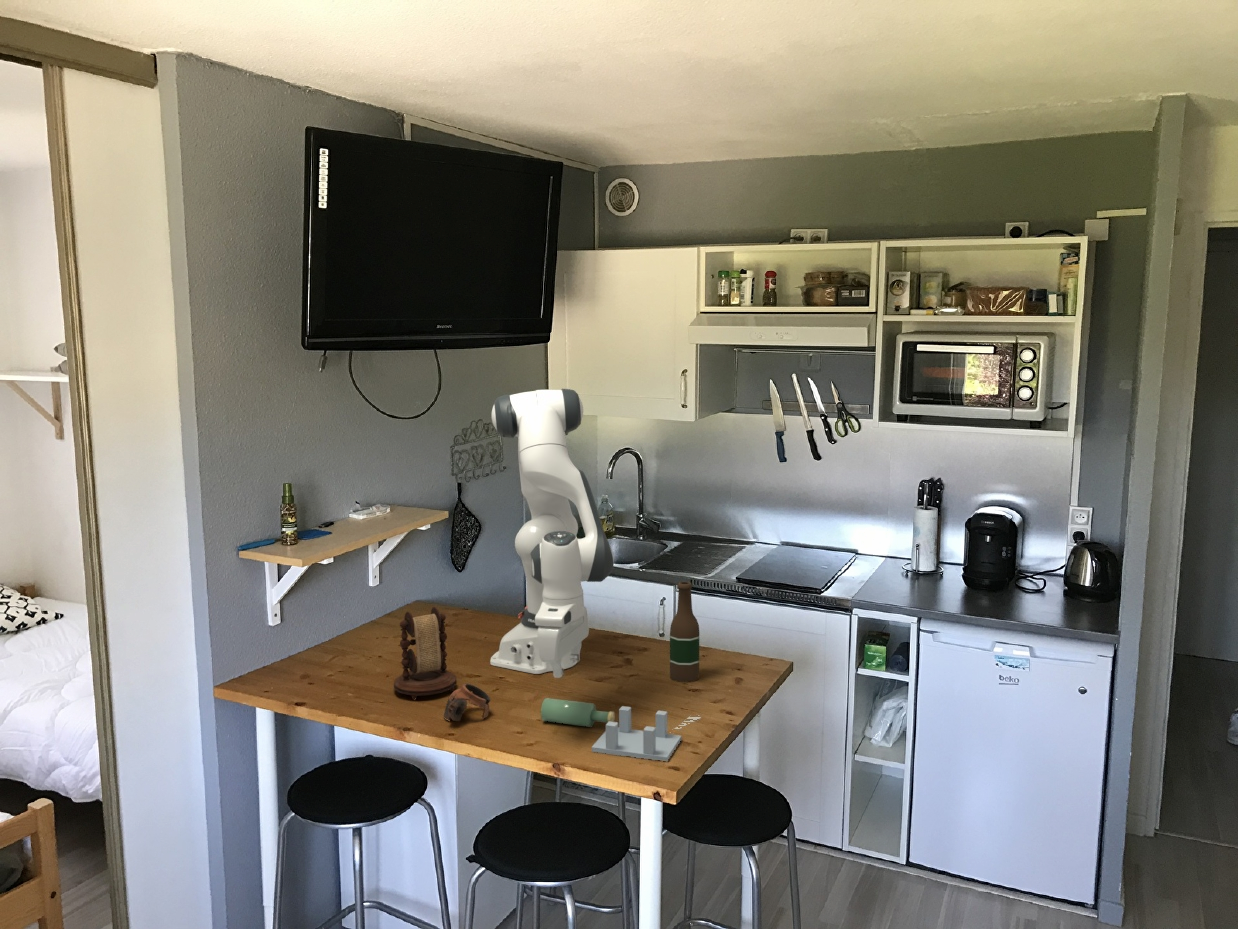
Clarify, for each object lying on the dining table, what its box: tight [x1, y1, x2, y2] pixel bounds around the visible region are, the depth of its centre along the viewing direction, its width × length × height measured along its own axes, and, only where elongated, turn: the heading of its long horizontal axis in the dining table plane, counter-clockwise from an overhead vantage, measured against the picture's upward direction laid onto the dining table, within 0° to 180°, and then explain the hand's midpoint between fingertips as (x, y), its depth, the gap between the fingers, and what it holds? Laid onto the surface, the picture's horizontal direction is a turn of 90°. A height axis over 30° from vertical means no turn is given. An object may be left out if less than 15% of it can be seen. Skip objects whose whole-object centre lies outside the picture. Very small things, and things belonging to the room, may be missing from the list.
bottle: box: [540, 697, 616, 728], centre depth 216 cm, size 16×5×5 cm, turn 71°
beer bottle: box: [669, 581, 700, 683], centre depth 243 cm, size 8×8×24 cm
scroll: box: [393, 606, 457, 700], centre depth 236 cm, size 15×15×20 cm
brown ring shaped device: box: [443, 683, 491, 722], centre depth 220 cm, size 12×10×8 cm
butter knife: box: [673, 714, 702, 730], centre depth 211 cm, size 1×24×3 cm
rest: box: [591, 705, 682, 762], centre depth 205 cm, size 16×11×6 cm
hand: (567, 669), depth 215 cm, fingers open, 8 cm apart
